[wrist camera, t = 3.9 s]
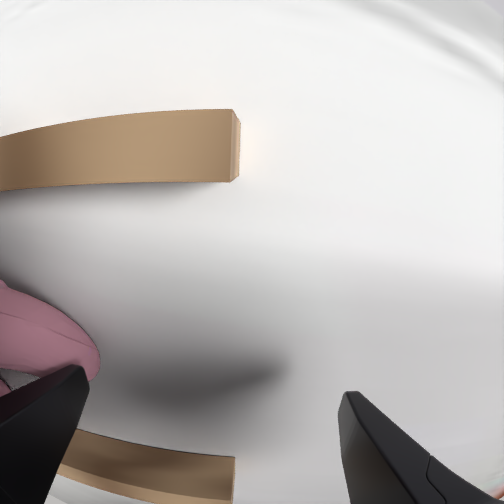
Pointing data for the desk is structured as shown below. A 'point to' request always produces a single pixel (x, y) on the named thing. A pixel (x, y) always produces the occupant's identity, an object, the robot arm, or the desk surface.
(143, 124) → the pair of wooden bars
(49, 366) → the video game controller
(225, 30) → the desk surface
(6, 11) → the desk surface
